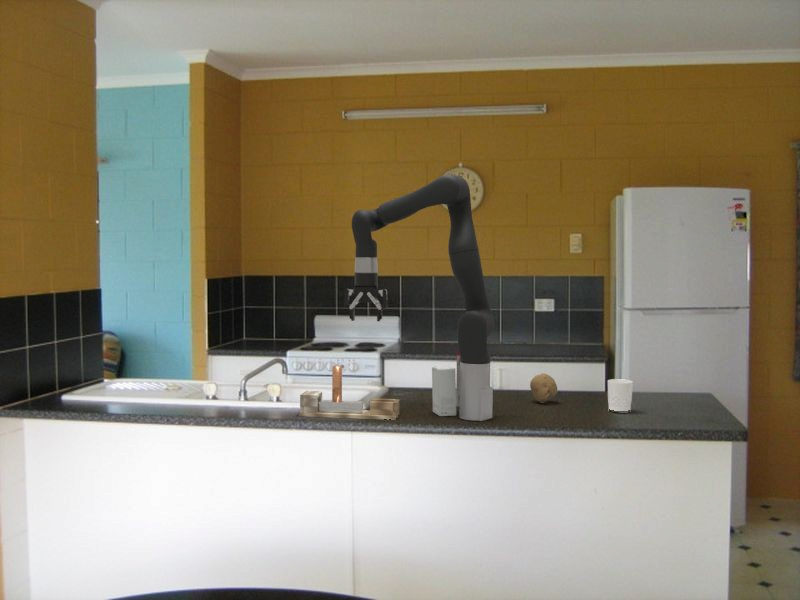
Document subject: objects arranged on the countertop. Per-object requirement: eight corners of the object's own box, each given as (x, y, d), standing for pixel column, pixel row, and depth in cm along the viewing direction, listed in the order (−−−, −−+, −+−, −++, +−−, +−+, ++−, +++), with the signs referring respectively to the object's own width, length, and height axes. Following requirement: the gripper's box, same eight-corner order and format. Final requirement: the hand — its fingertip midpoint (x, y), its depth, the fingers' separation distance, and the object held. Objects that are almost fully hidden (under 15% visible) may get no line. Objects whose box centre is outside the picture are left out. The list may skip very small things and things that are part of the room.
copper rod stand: (363, 411, 252) (363, 366, 251) (361, 413, 249) (361, 367, 248) (312, 409, 254) (313, 364, 253) (310, 411, 251) (310, 366, 250)
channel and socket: (399, 414, 253) (399, 393, 253) (396, 419, 245) (396, 398, 245) (305, 411, 257) (305, 390, 257) (298, 416, 249) (298, 394, 249)
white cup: (615, 408, 267) (615, 378, 266) (636, 412, 261) (637, 381, 260) (602, 411, 261) (602, 380, 261) (624, 415, 256) (624, 383, 255)
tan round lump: (549, 399, 281) (549, 371, 280) (562, 404, 273) (562, 375, 272) (525, 401, 278) (526, 372, 278) (537, 405, 270) (538, 376, 269)
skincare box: (456, 416, 252) (457, 368, 251) (438, 416, 250) (438, 369, 250) (449, 410, 260) (449, 364, 259) (430, 411, 259) (431, 365, 258)
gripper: (342, 271, 262) (342, 321, 263) (386, 272, 260) (385, 322, 261) (347, 270, 269) (346, 319, 270) (389, 271, 267) (389, 320, 268)
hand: (365, 320), depth 265 cm, fingers open, 8 cm apart
